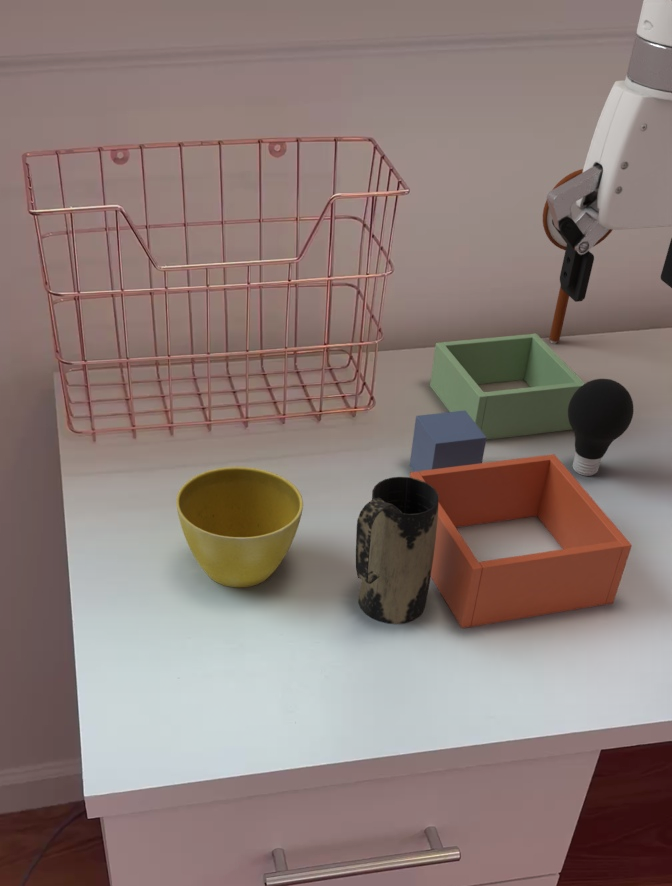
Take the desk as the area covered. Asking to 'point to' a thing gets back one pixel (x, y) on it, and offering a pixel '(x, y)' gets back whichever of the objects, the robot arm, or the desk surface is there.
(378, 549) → the mug
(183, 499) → the yellow bowl
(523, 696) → the desk surface
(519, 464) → the block bin
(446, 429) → the block
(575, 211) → the magnifying glass
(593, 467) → the light bulb
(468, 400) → the bulb bin
